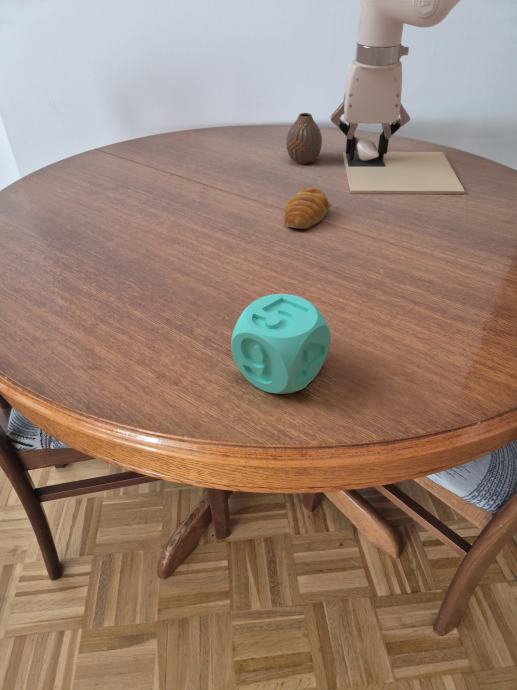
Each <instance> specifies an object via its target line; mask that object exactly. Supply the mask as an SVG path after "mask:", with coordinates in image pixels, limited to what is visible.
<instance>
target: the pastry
mask: <svg viewBox="0 0 517 690" xmlns="http://www.w3.org/2000/svg"><path fill="white" fill-rule="evenodd" d="M331 207H332V205H331V202H330V201H329V199H328V197H327V196H326V194H325V192H324V191H323V190H321V189H320V188H316V187H307V188H302V189H301V190H299V191H297V193H296V194H295V195H293V196H292V197H291V198H290V199H289V200H288V202H287V204H286V206H285V209H284V223H285V226H286V227H287V228H294V229H299V230H301V229H302V230H305V229H306V230H307V229H310V228H311V227H312V226H315V225H317V224H319V223H320V222H321V221H322V220H323V219H324V218H325V217H326V216H327V215H328V212H329V211H330V209H331Z"/></svg>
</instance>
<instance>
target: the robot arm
mask: <svg viewBox="0 0 517 690" xmlns="http://www.w3.org/2000/svg"><path fill="white" fill-rule="evenodd" d="M460 2H461V0H360V2H359V12H358V22H357V23H358V25H357V33H356V35H357V36H356V43H355V44H356V46H355V55H354V58H355V59H353V60H351V61H350V62H349V65H348V69H347V75H346V79H345V86H344V92H343V99H342V102H341V103H340V104H339V106H338V107H337V108H335V110H334V111H333V113H332V114H331V115H330V121H331V123H332V124H333V125H335V126H336V127H337V128H339V130H340V131H341V132H342V133H343V134H344V135H345V137H346V142H345V143H346V145H345V152H346V154H349V158H350V160H353V159H354V152H355V141H356V140H355V137H356V135H355V133H356V131H357V128H358V125H359V124H363V125H365V124H367V125H368V124H381V129H382V131H381V133H380V134H379V137H378V138H379V139H378V147H377V151H378V153H379V156H378V157H379V159H380V160H383V157H384V154H387V152H388V148H389V141H390V139H391V138H392V136H393V135H394V134H395V133H397V131H399V130H400V129H401V127H403V126H405V125H407V123H409V122H410V120H411V117H410V115H409V113H408V111H407V110H406V109H405V106H403V104H402V89H403V88H402V87H403V64H402V63H403V62H402V61H401V60H400V59H401V58H402V57H404V56H408V54H409V51H410V48H409V46H405V45H403V44H402V38H403V31H404V24H405V25H409V26H413V27H417V28H432V27H434V26H436V25H439V24H440V23H441V22H443V21H444V20H445V19H446V17H448V15H449V14H450V13H451V11H452V10H454V8H455V7H456V6H457V5H458V3H460ZM342 116H344V120H342V118H341V117H342ZM346 122H347V123H348V124H347V123H346Z"/></svg>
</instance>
